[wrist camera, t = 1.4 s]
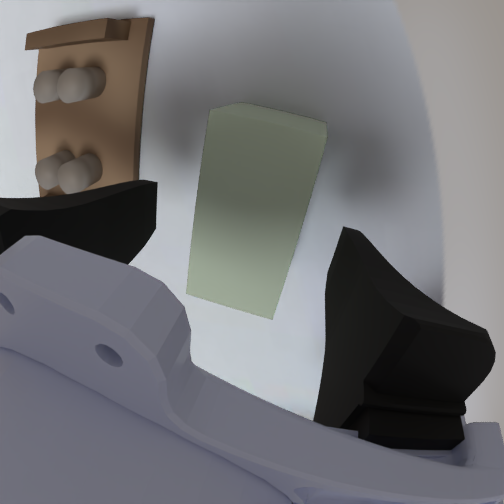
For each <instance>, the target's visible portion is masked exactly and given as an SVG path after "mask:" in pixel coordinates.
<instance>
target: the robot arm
mask: <svg viewBox="0 0 504 504" xmlns="http://www.w3.org/2000/svg"><path fill="white" fill-rule="evenodd" d="M157 184H158V182H153V181H148V180H133V181H128V182H123V183H118V184H114V185H109V186H105V187H101V188H96V189H91V190H87V191H82V192H77V193H71V194H65V195H58V196H49V197H37V198H0V504H503V500H504V444H503V439H502V435H501V430H500V426H499V423H497V422H473V423H469V424H466V422H465V417H464V414H465V413H466V406H465V400H466V399H467V398H468V397H469V396H470V395H471V394H472V393H473V391H475V390H476V388H477V387H478V386H479V385H480V384H481V383H482V382H483V381H484V379H485V378H486V377H487V375H488V374H489V373H490V371H491V369H492V367H493V364H494V362H495V353H496V352H495V350H494V347H493V344H492V341H491V339H490V337H489V334H488V332H487V330H486V329H484V328H482V327H480V326H477V325H476V324H473V323H471V322H469V321H467V320H465V319H463V318H461V317H459V316H458V315H456V314H454V313H452V312H451V311H449V310H447V309H446V308H444V307H442V306H441V305H439V304H438V303H436V302H435V301H433V300H432V299H431V298H429V297H428V296H426V295H425V294H423V293H422V292H421V291H420V290H418V289H417V288H416V287H415V286H413V285H412V284H411V283H410V282H409V281H408V280H406V279H405V278H404V277H403V276H402V275H401V274H400V273H399V272H398V271H397V270H396V269H395V268H394V267H393V266H392V265H391V264H390V263H389V262H388V261H387V260H386V259H385V258H384V257H383V256H382V255H381V254H380V252H379V251H378V250H377V249H376V248H375V247H374V246H373V244H372V243H371V242H370V241H369V240H368V239H367V238H366V237H365V236H364V235H363V234H362V233H361V232H360V231H358V230H354V229H351V228H347V227H344V226H343V229H342V232H341V235H340V238H339V241H338V244H337V247H336V250H335V253H334V256H333V258H332V261H331V264H330V267H329V270H328V273H327V281H326V290H325V326H326V343H325V355H324V363H323V370H322V377H321V383H320V389H319V395H318V400H317V405H316V410H315V415H314V420H313V421H311V420H309V419H306V418H304V417H302V416H299V415H297V414H295V413H292V412H290V411H288V410H285V409H283V408H281V407H278V406H276V405H274V404H272V403H270V402H267V401H265V400H263V399H261V398H259V397H257V396H254V395H252V394H250V393H248V392H246V391H244V390H242V389H240V388H238V387H236V386H234V385H232V384H230V383H228V382H226V381H224V380H222V379H220V378H218V377H216V376H214V375H212V374H211V373H209V372H207V371H205V370H203V369H201V368H199V367H198V366H196V365H195V364H193V362H192V361H191V355H190V341H191V329H190V325H189V322H188V318H187V314H186V311H185V307H184V306H183V305H182V303H181V302H180V301H179V300H178V299H177V298H176V297H175V295H174V294H173V293H172V292H171V291H170V290H169V288H168V287H167V286H166V285H165V284H164V283H163V282H162V281H160V280H158V279H156V278H154V277H152V276H151V275H149V274H147V273H145V272H143V271H141V270H140V269H138V268H136V267H134V266H130V265H128V264H129V263H130V262H131V261H132V260H133V259H134V257H135V256H136V255H137V254H138V253H139V252H140V251H141V250H142V248H143V247H144V246H145V245H146V243H147V242H148V240H149V239H150V237H151V236H152V234H153V232H154V231H155V229H156V209H157Z"/></svg>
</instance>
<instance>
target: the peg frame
mask: <svg viewBox="0 0 504 504" xmlns="http://www.w3.org/2000/svg"><path fill="white" fill-rule="evenodd" d="M153 25H154V19H152V18H133V19H121V20H116V19H110V18H104V19H97V20H90V21H83V22H78V23H72V24H67V25H62V26H57V27H52V28H48V29H44V30H40V31H36V32H32V33H28V34H27V37H26V45H25V50H34V49H39V54H38V65H37V77H36V79H35V82H34V88H33V90H34V96H35V98H36V107H35V128H36V155H37V164H36V168H35V175H36V179H37V181H38V183H39V192H40V197H49V196H58V195H65V194H71V193H77V192H82V191H87V190H91V189H96V188H101V187H105V186H109V185H114V184H118V183H123V182H128V181H133V180H139V154H140V137H141V123H142V110H143V100H144V90H145V81H146V72H147V64H148V57H149V50H150V43H151V37H152V31H153Z"/></svg>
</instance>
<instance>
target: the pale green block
mask: <svg viewBox="0 0 504 504" xmlns="http://www.w3.org/2000/svg"><path fill="white" fill-rule="evenodd" d="M327 138H328V136H327V125H326V122H323V121H319V120H315V119H312V118H308V117H304V116H300V115H296V114H292V113H288V112H284V111H280V110H276V109H271V108H267V107H262V106H258V105H253V104H248V103H243V102H239V103H235V104H231V105H227V106H223V107H219V108H215V109H211V110H210V111H209V117H208V123H207V129H206V135H205V142H204V148H203V155H202V162H201V169H200V176H199V183H198V190H197V198H196V206H195V214H194V222H193V231H192V240H191V249H190V259H189V269H188V279H187V290H186V294H189V295H192V296H195V297H198V298H201V299H204V300H208V301H211V302H214V303H217V304H220V305H224V306H227V307H230V308H234V309H237V310H240V311H244V312H247V313H251V314H254V315H257V316H261V317H264V318H268V319H271V320H273V316H274V313H275V310H276V307H277V304H278V301H279V298H280V295H281V292H282V289H283V286H284V283H285V280H286V277H287V273H288V270H289V267H290V264H291V261H292V257H293V254H294V251H295V248H296V245H297V241H298V238H299V235H300V231H301V228H302V225H303V222H304V218H305V215H306V212H307V208H308V205H309V201H310V198H311V195H312V191H313V188H314V184H315V181H316V177H317V174H318V170H319V167H320V163H321V159H322V156H323V152H324V149H325V145H326V141H327Z"/></svg>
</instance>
